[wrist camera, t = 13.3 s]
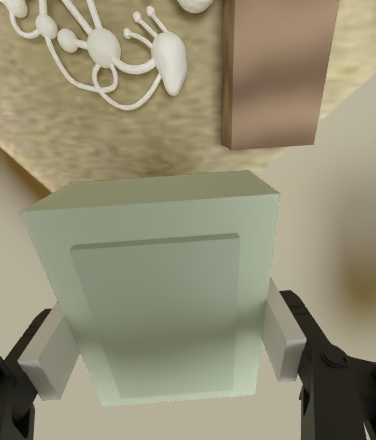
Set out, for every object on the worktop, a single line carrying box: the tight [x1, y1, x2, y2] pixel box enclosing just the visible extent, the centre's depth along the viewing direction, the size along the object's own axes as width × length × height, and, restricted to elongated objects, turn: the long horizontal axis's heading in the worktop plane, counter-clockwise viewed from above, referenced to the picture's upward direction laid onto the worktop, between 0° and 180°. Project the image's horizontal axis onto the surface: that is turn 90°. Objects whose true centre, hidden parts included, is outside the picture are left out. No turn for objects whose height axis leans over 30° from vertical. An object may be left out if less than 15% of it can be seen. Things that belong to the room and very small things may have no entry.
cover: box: [20, 170, 280, 406], centre depth 12 cm, size 13×9×4 cm
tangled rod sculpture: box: [0, 0, 213, 110], centre depth 18 cm, size 19×14×4 cm
